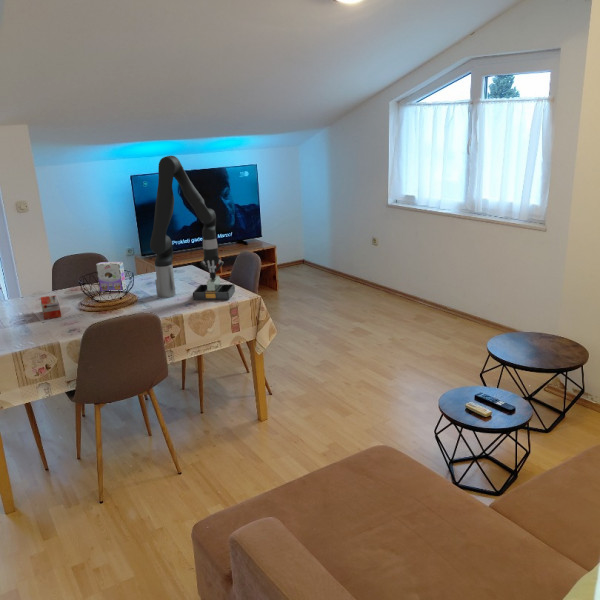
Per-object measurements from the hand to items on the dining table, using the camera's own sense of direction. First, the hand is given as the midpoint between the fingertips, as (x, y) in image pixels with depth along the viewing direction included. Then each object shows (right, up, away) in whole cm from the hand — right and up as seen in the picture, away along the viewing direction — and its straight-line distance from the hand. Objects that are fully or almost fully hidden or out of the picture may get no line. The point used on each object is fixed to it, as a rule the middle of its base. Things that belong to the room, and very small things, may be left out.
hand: (213, 278), depth 310 cm
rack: (0, -9, +3) cm, 10 cm away
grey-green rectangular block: (0, -9, +3) cm, 9 cm away
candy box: (-60, -6, +21) cm, 64 cm away
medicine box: (-79, -19, -16) cm, 83 cm away
